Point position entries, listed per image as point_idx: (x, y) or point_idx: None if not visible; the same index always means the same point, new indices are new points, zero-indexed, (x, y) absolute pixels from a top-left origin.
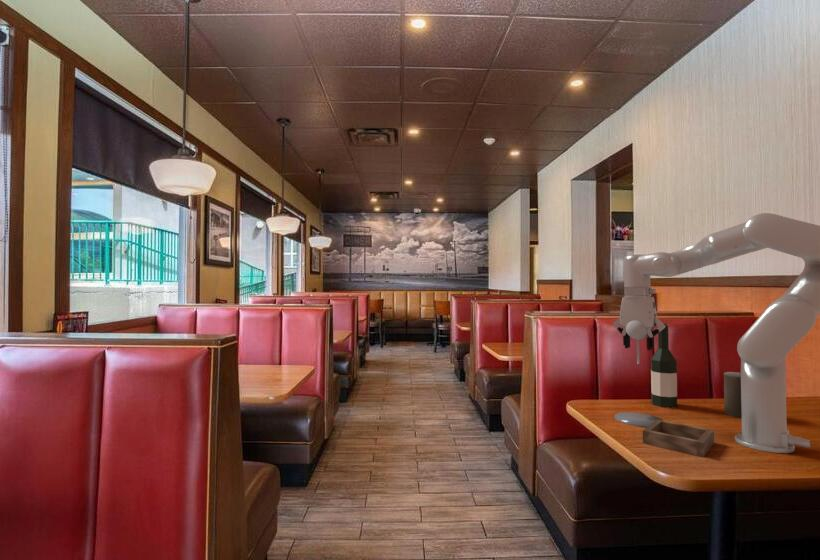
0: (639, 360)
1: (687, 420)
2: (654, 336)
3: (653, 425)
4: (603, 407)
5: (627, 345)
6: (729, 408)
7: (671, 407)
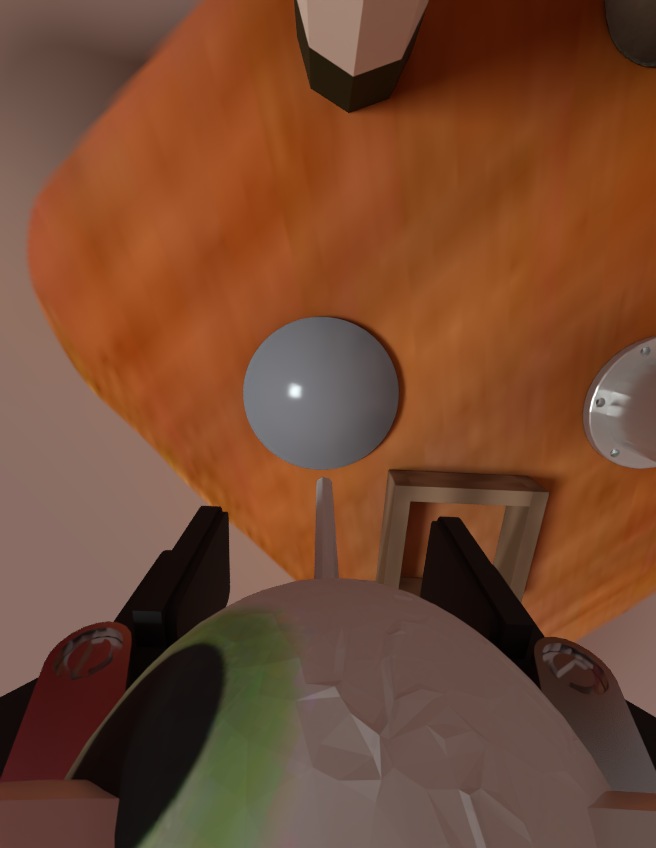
0: (332, 494)
1: (459, 267)
2: (578, 653)
3: (396, 555)
4: (159, 286)
5: (222, 607)
6: (644, 19)
7: (392, 90)
